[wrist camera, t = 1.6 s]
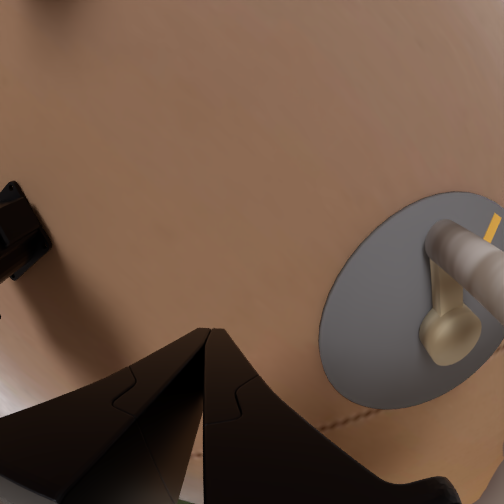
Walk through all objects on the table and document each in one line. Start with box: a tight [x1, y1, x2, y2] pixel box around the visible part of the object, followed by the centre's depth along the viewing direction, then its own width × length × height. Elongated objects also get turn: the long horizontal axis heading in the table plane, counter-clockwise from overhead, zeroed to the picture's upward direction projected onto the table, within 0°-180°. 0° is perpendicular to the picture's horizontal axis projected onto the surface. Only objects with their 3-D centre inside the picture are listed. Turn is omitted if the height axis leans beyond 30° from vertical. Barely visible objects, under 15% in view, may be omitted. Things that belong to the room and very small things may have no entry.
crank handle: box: [419, 219, 504, 366], centre depth 15 cm, size 13×5×13 cm, turn 19°
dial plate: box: [318, 191, 504, 409], centre depth 23 cm, size 22×22×1 cm
